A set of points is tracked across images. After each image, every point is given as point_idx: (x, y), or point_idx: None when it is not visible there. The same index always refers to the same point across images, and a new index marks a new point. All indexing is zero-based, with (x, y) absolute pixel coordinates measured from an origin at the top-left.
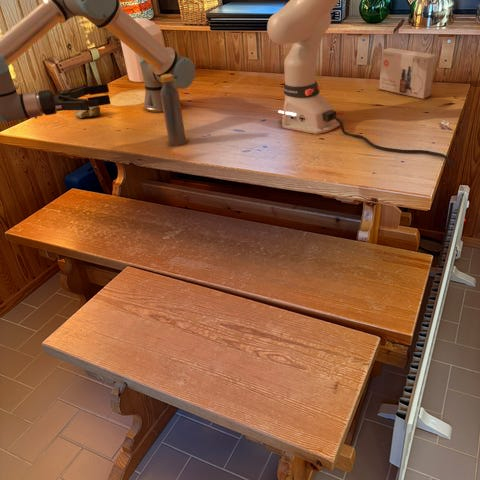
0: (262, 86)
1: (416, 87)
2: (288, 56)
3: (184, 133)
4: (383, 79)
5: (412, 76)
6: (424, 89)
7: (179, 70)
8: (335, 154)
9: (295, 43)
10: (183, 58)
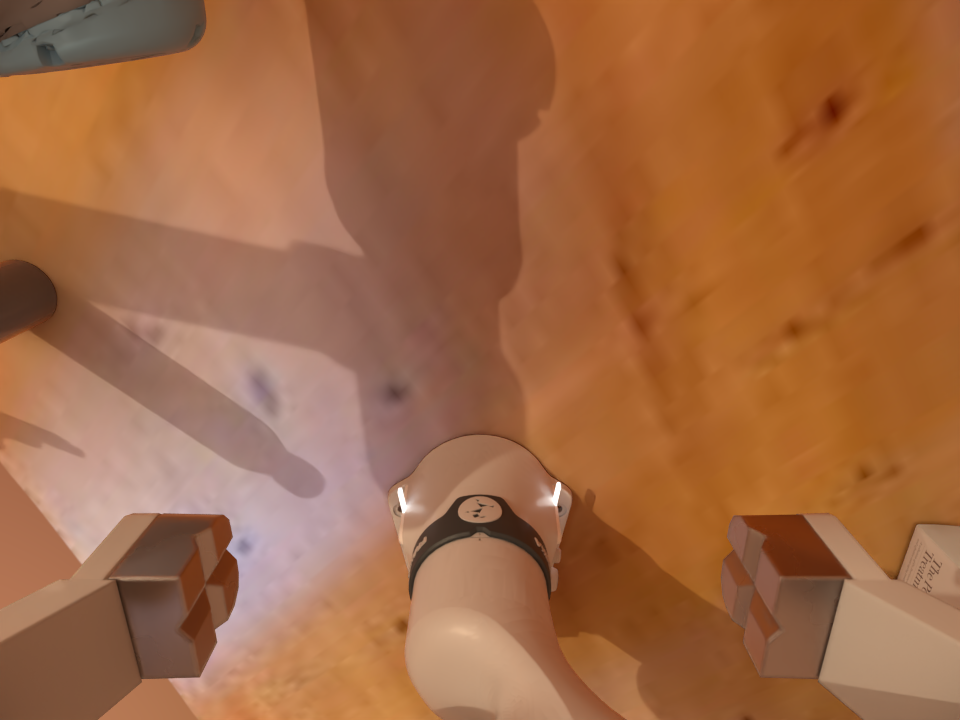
0: (761, 26)
1: None
2: (434, 657)
3: (25, 330)
4: (935, 566)
5: None
6: None
7: (24, 73)
8: (349, 699)
9: (495, 695)
10: (42, 42)
